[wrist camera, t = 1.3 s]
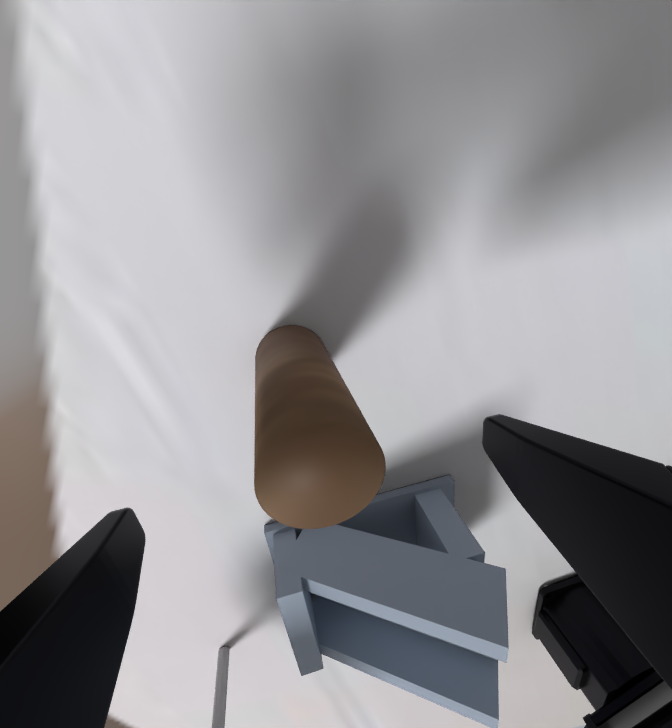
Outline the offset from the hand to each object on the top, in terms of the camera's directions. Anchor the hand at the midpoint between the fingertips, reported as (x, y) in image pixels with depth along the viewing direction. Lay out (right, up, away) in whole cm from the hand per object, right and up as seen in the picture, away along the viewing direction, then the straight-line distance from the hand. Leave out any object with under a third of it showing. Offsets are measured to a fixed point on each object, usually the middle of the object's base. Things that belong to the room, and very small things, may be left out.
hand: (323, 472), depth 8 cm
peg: (-2, +3, +7) cm, 8 cm away
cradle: (+3, -8, +13) cm, 15 cm away
